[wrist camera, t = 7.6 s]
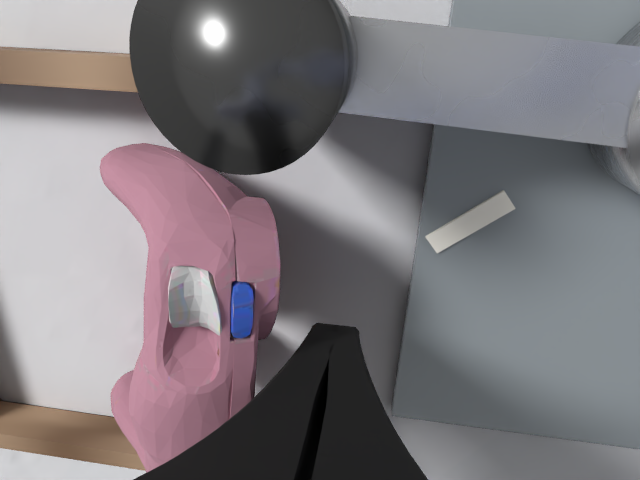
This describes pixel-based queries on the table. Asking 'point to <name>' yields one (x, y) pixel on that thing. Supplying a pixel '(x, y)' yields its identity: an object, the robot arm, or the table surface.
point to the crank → (369, 81)
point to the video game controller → (192, 298)
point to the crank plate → (526, 267)
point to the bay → (40, 422)
